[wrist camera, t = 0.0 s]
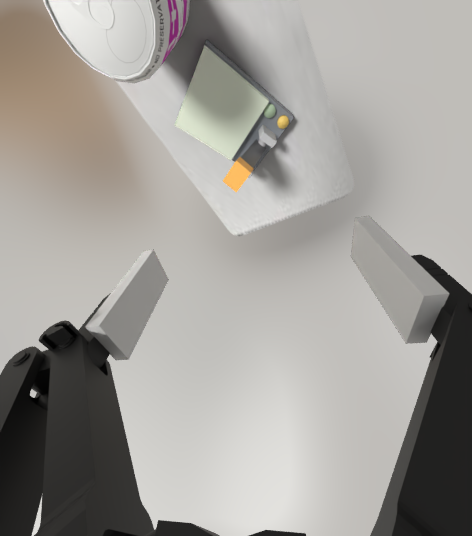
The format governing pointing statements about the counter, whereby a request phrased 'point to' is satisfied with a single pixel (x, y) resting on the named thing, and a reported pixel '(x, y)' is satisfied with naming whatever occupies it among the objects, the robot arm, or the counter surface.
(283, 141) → the counter surface
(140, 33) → the supplement can
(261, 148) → the breaker lever
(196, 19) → the counter surface
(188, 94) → the panel
